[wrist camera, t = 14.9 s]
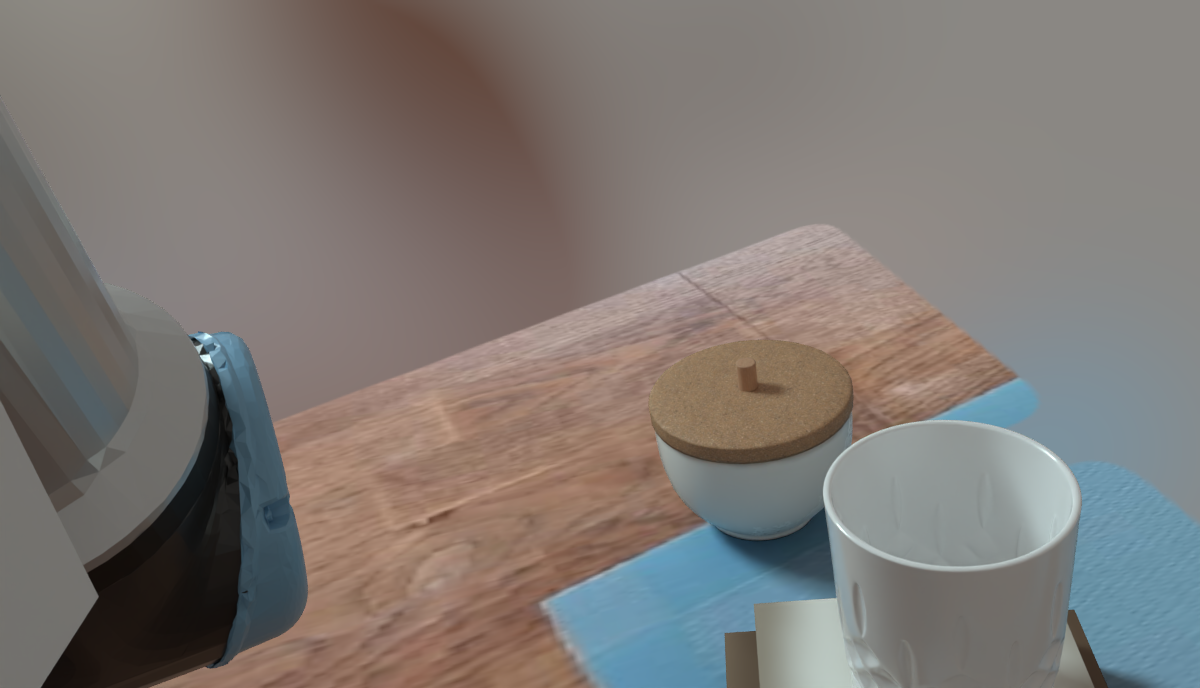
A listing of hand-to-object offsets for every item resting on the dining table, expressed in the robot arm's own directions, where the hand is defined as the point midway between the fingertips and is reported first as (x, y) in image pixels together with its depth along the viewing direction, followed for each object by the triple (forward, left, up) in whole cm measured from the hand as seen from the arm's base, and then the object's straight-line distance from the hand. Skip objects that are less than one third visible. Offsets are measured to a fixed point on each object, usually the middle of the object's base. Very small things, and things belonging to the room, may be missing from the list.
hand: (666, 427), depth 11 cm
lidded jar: (-35, +21, -33) cm, 52 cm away
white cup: (-14, +16, -27) cm, 34 cm away
